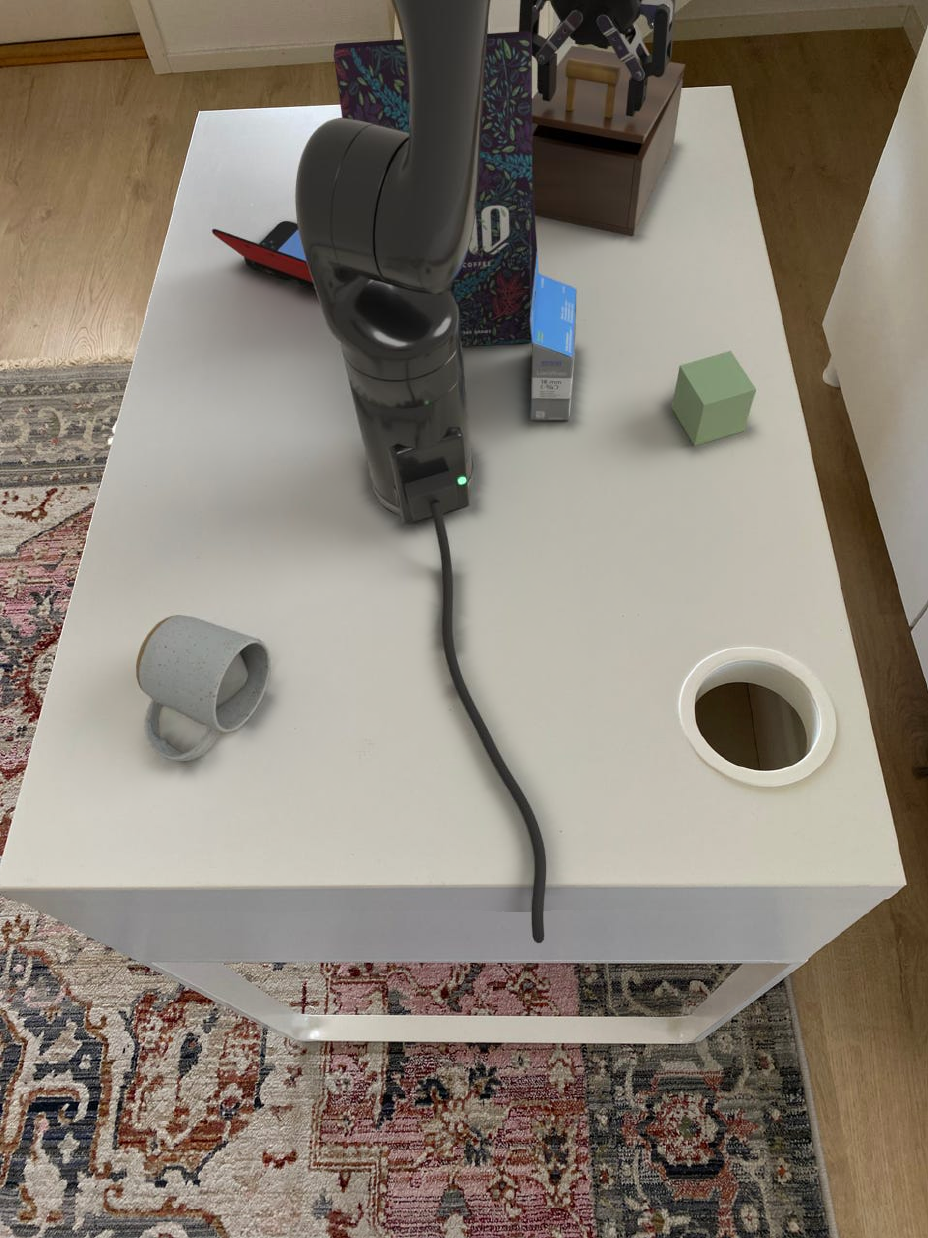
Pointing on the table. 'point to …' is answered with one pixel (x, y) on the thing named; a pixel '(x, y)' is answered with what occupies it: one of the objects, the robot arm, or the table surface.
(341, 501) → the table surface
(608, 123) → the lid
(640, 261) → the table surface
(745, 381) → the block
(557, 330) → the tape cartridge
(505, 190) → the coffee bag
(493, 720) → the table surface
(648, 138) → the chest
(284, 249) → the handheld console
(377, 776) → the table surface
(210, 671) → the ceramic mug
